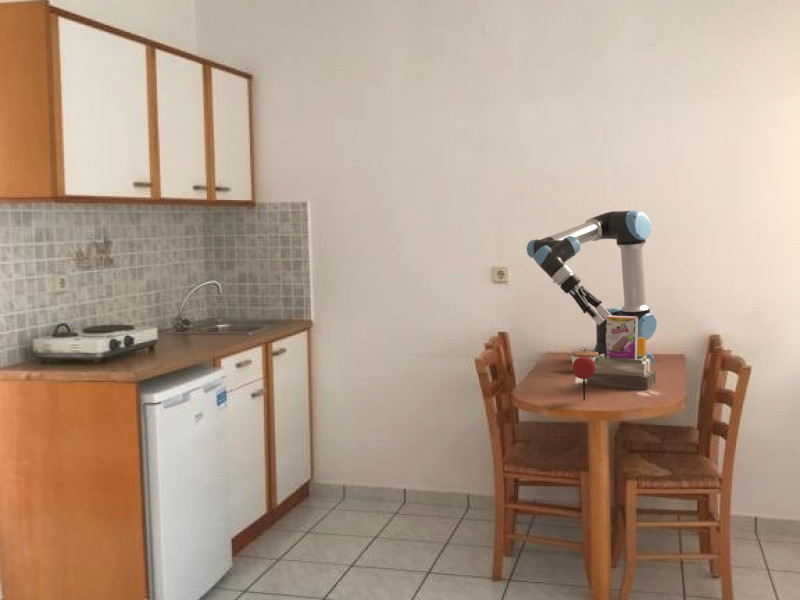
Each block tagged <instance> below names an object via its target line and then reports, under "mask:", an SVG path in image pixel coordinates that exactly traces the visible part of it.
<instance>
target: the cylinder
mask: <svg viewBox="0 0 800 600" xmlns="http://www.w3.org/2000/svg"><path fill="white" fill-rule="evenodd" d="M646 341H647V340H646V338H645V337H638V342H637V355H638V356H647V358H649V357H650V359H651V366H653V365H654V364H655V358H654V355H653V353H651V352H648V353H646V349H647V347H646V346H647V344H646V343H647V342H646Z"/></svg>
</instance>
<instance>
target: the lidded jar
mask: <svg viewBox="0 0 800 600" xmlns="http://www.w3.org/2000/svg"><path fill="white" fill-rule="evenodd" d="M598 355H599V353H598V352H595V351H594V350H587V348H583V350H575V351H572V352H571V362H572V364H573V363H574V361H575V360H576V359H577V358H579V357H588V358H590V359H592V360H595V358H596V357H598Z"/></svg>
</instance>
